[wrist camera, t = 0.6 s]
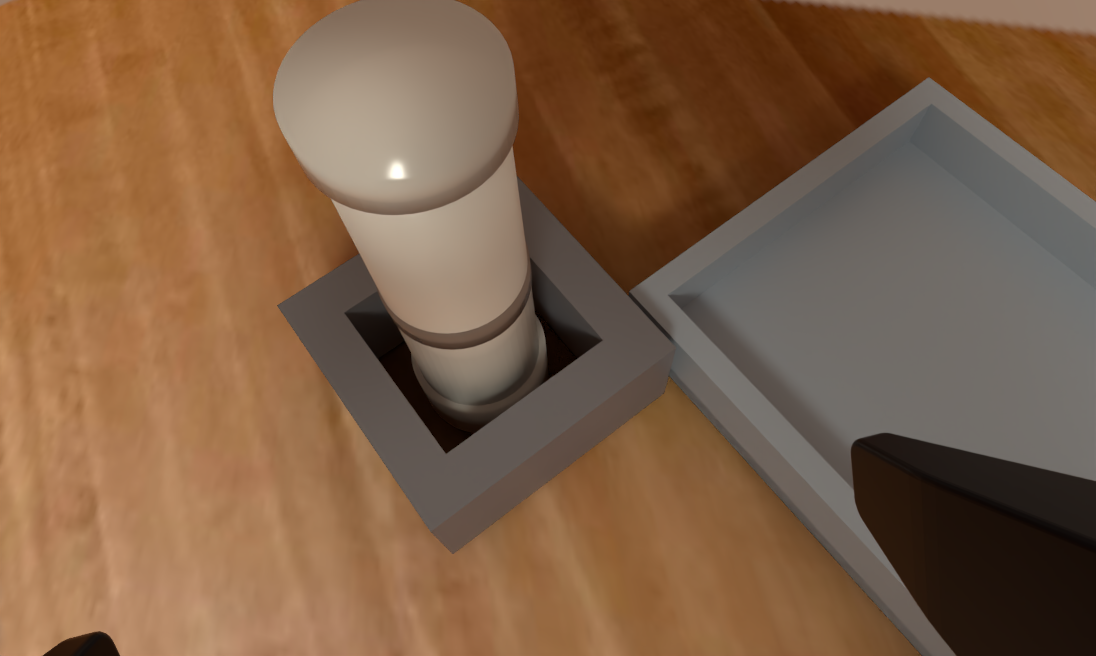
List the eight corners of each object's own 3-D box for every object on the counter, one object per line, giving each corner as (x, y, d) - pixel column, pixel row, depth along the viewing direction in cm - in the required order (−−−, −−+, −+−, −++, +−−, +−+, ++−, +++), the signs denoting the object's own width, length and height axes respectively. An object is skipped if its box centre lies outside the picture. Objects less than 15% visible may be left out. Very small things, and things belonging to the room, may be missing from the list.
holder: (663, 393, 24) (676, 347, 21) (452, 554, 22) (430, 531, 19) (513, 224, 27) (503, 162, 23) (316, 353, 25) (277, 305, 22)
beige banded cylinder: (574, 383, 24) (563, 91, 12) (470, 459, 23) (351, 223, 11) (500, 295, 25) (428, -40, 14) (400, 363, 25) (231, 67, 13)
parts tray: (1365, 495, 21) (1458, 472, 19) (1071, 820, 19) (1138, 839, 16) (900, 126, 28) (929, 77, 25) (625, 327, 25) (629, 291, 22)
